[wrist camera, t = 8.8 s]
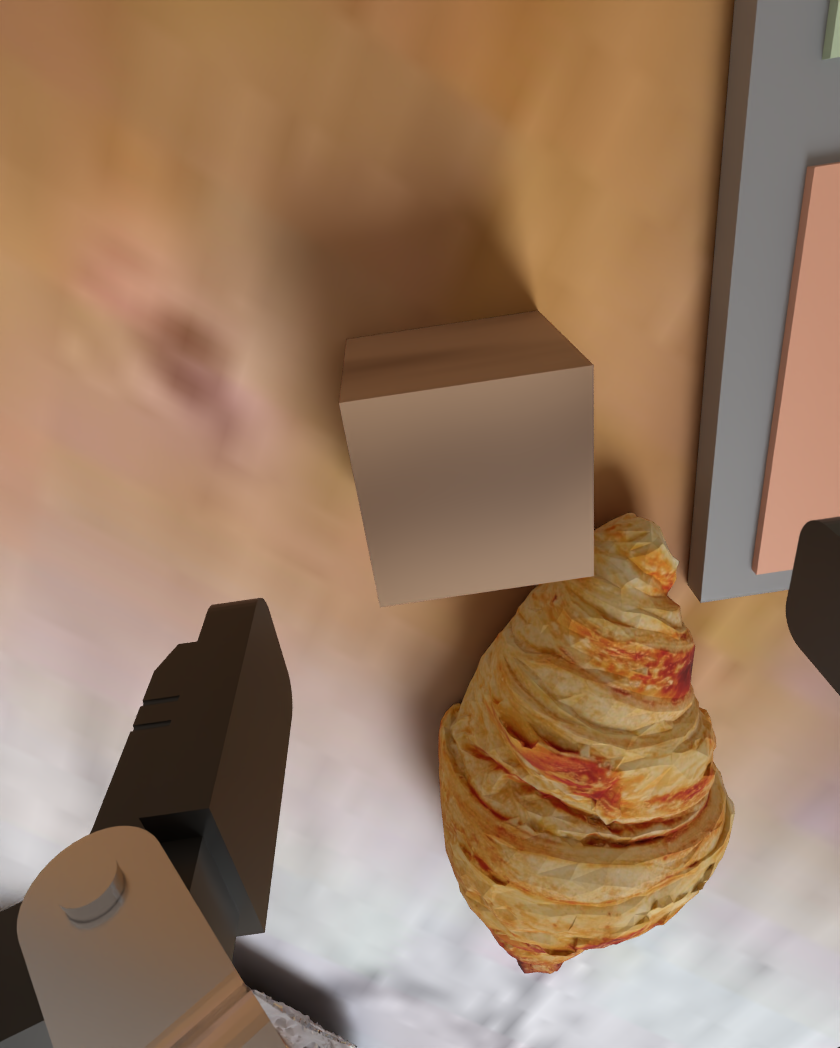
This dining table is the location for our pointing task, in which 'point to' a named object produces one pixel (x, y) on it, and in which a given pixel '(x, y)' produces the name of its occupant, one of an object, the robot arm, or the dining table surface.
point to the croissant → (584, 762)
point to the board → (772, 305)
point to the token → (471, 456)
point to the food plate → (298, 1026)
